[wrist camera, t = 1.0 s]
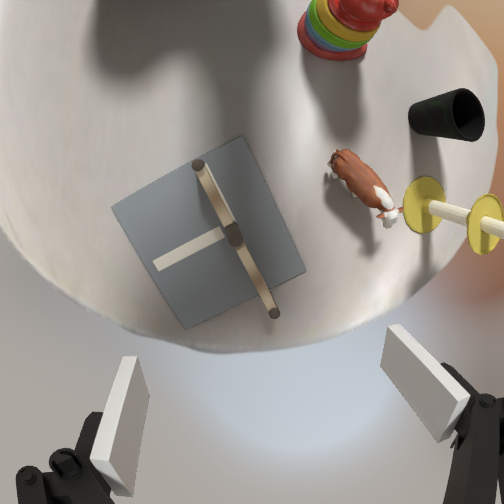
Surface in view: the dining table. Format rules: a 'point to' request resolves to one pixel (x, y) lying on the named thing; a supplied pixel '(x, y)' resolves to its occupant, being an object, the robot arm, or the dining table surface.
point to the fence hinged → (258, 280)
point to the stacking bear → (342, 26)
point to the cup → (449, 116)
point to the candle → (454, 214)
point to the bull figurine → (364, 184)
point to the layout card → (208, 234)
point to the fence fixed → (218, 203)
